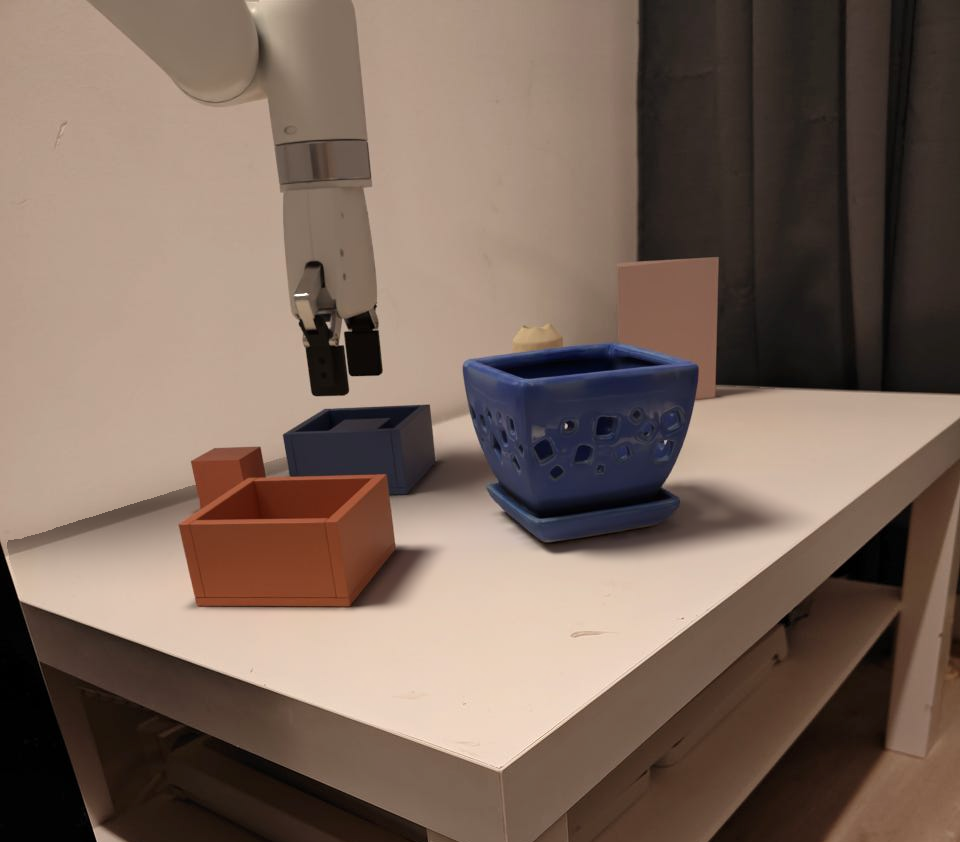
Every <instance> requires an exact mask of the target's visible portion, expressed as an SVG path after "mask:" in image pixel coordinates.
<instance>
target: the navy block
mask: <svg viewBox="0 0 960 842" xmlns="http://www.w3.org/2000/svg"><path fill="white" fill-rule="evenodd" d="M390 428H392V427H391V419H390V418H379V419H354V420H344V421H342V422H341V423H339V424H338V425H337V426H335V427H334V428H332V429H331V430H329V431H336V430H363V429H390Z"/></svg>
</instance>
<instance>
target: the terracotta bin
mask: <svg viewBox="0 0 960 842" xmlns="http://www.w3.org/2000/svg"><path fill="white" fill-rule="evenodd" d="M393 522H394V521H393V513H392V505H391V498H390V495H389V489H388V481H387V474H377V475H342V476H304V477H290V476H271V477H269V476H266V478H247V479H246V480H244V481H243V482H241V483H240V484H238V485H237V486H235V487H234V488H232V489H231V490H229V491H228V492H226V493H225V494H223V495H222V496H220V497H219V498H217V499H216V500H214V501H213V502H211V503H210V504H208V505H207V506H205V507H204V508H202V509H201V508H200V509H199V510H198V511H196V512H195V513H193V514H191V515H190V516H188V517H187V518H185V519H184V520H183V521H181V522H179V523H178V529H179V535H180V538H181V543H182V547H183V551H184V556H185V560H186V564H187V569H188V574H189V578H190V582H191V586H192V591H193V596H194V600H195V605H196V607H197V606H199V607H203V606H205V607H206V606H207V607H210V606H211V607H351V606H352V604H353V603H354V602H355V600H357V598H358V597H359V596H360V594H361V593H362V592H363V591H364V589H365V588H366V587H367V586H368V584H370V582H371V581H372V580H373V578H374V577H375V576H376V575H377V573H378V572H379V571H380V569H381V568H382V567H383V566H384V565H385V563H386V562H387V561H388V560H389V559H390V557H391V556H392V555H393V553H394V552H395V551H396V549H397V547H396V538H395V531H394V523H393Z"/></svg>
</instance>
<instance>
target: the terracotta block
mask: <svg viewBox="0 0 960 842" xmlns="http://www.w3.org/2000/svg"><path fill="white" fill-rule="evenodd" d="M190 464H191V465H190V466H191V469H192V473H193V478H194V484H195V489H196V493H197V497H198V501H199V507H200V510H201V509H202V508H204V507H205V506H207V505H208V504H210V503H211V502H213V501H214V500H216V499H217V498H219V497H220V496H222V495H223V494H225V493H226V492H228V491H229V490H231V489H232V488H234V487H235V486H237V485H238V484H240V483H241V482H243V481H244V480H246V479H247V478H266V477H267V475H266V469H265V465H264V459H263V453H262V447H261V446H239V447H238V446H235V447H234V446H233V447H213V448H212V449H210V450H208V451H206V452H204V453H203V454H201V455H199V456H198V457H196V458H194V459H192V460H191V461H190Z"/></svg>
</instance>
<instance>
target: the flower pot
mask: <svg viewBox="0 0 960 842" xmlns="http://www.w3.org/2000/svg"><path fill="white" fill-rule="evenodd" d="M698 376H699V367H698V365H697V364H696V363H694V362H691V361H688V360H685V359H681V358H678V357H675V356H671V355H667V354H664V353H660V352H656V351H652V350H648V349H644V348H640V347H636V346H632V345H627V344H621V343H619V342H604V343H593V344H579V345H577V344H576V345H569V346H563V347H560V348H551V349H543V350H535V351H526V352H520V353H513V352H512V353H506V354H496V355H490V356H483V357H477V358H469V359H466V360H465V361H464V362H463V364H462V378H463V384H464V389H465V390H464V391H465V396H466V400H467V401H466V402H467V405H468V410H469V415H470V419H471V422H472V425H473V429H474V432H475V434H476V438H477V441H478V443H479V446H480V448H481V450H482V453H483V455H484V458H485V459H486V462H487V464H488V466H489V468H490V469H491V471H492V473H493V475H494V477H495V478H496V480H497V482H489V483H487V484H486V486H485V488H486V491H487V493H488V495H489V496H490V497H491V498H492V500H493V501H494V502H495V503H496V504H497V505H498V506H499V507H500V508H501V509H502V510H503V511H504V512H506V514H508V515H509V516H510V517H512V519H514V521H516V522H517V523H519V524H520V525H521V526H522V527H523V528H524V529H526V530H527V531H528V532H529V533H531V534H532V535H533V536H534V537H536V538H537V539H538V540H540V541H541V542H543V543H545V544H550V543H555V542H561V541H568V540H575V539H582V538H589V537H594V536H600V535H601V536H602V535H607V534H612V533H617V532H618V533H619V532H625V531H630V530H635V529H641V528H650V527H652V526H656V525H659V524H662V523H663V522H665V521H666V520H668V519H669V518H670V517H672V515H673V514H674V513H675V512H676V511H677V510H678V509H679V507H680V505H681V503H682V500H681V498H680V497H679V496H678V495H676V494H674V493H673V492H671V491H669V490H667V489H665V488H663V486H664V484H665V483H666V481H667V480H668V478H669V476H670V474H671V473H672V471H673V469H674V467H675V465H676V464H677V463H676V462H677V460H678V459H679V456H680V454H681V451H682V448H683V445H684V443H685V440H686V437H687V435H688V431H689V428H690V424H691V420H692V417H693V411H694V408H695V407H694V406H695V403H696V399H695V397H696V392H697V385H698ZM665 441H666V442H665Z"/></svg>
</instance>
